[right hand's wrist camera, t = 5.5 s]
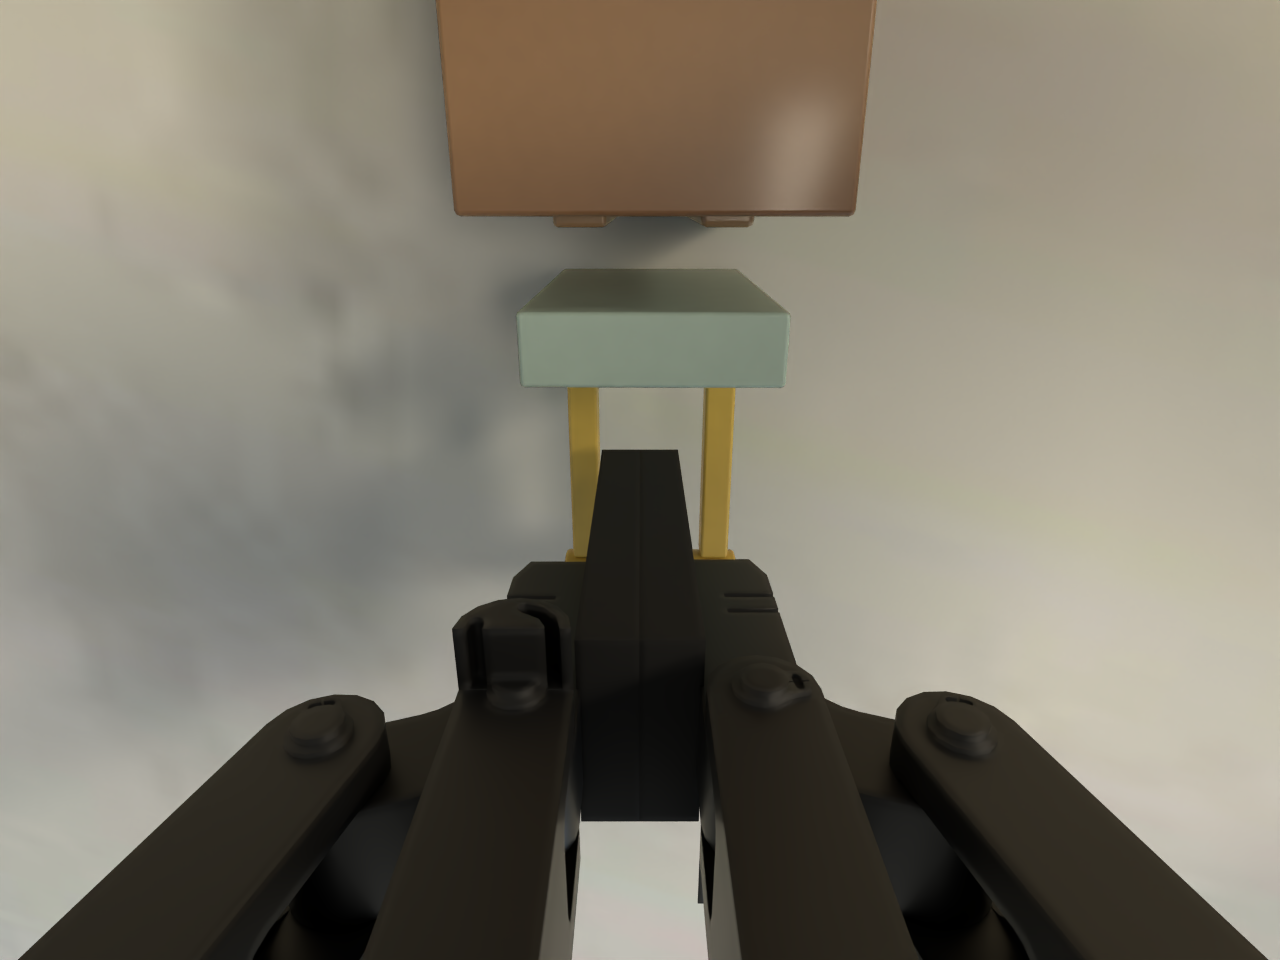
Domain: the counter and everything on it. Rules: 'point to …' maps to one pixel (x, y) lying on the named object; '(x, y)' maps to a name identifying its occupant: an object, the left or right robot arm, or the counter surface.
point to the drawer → (653, 360)
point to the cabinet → (655, 106)
